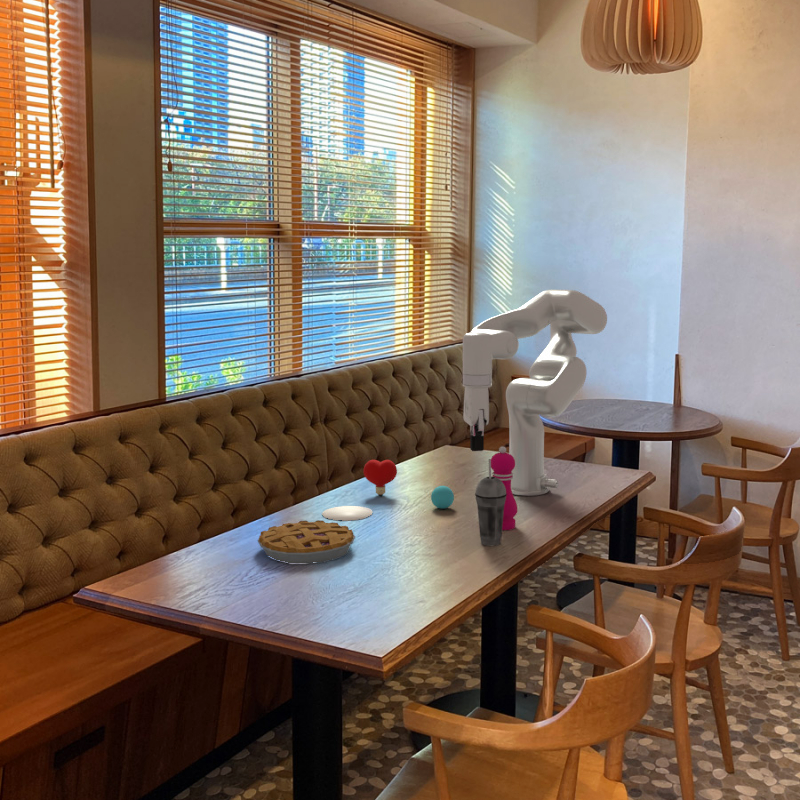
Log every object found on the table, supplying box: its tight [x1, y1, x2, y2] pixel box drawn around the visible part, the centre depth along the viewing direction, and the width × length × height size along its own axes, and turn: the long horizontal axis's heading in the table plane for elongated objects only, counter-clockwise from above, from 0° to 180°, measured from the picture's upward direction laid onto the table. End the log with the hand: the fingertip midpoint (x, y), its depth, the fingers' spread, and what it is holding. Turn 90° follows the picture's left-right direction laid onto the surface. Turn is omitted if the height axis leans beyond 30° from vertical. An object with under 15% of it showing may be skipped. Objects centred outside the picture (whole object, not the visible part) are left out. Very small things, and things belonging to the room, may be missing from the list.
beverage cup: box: [474, 458, 507, 547], centre depth 212 cm, size 7×7×20 cm
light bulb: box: [362, 459, 398, 497], centre depth 256 cm, size 9×7×10 cm
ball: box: [430, 485, 455, 510], centre depth 243 cm, size 6×6×6 cm
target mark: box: [321, 505, 374, 522], centre depth 240 cm, size 13×13×1 cm
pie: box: [257, 519, 356, 564], centre depth 210 cm, size 22×22×5 cm
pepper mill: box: [490, 446, 519, 531], centre depth 225 cm, size 7×7×20 cm
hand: (476, 450), depth 242 cm, fingers closed
